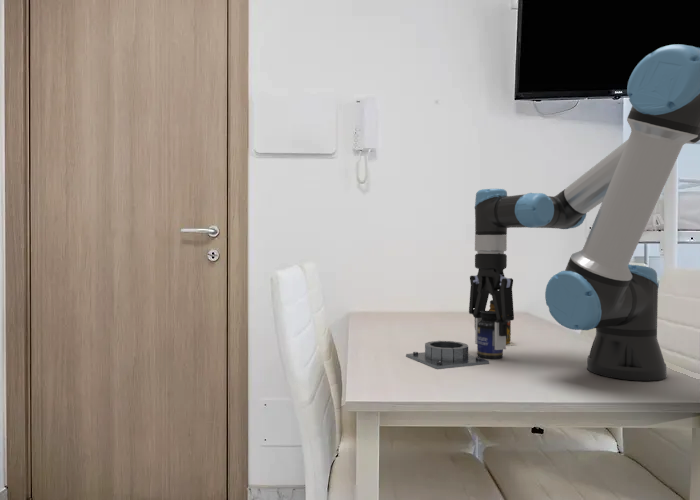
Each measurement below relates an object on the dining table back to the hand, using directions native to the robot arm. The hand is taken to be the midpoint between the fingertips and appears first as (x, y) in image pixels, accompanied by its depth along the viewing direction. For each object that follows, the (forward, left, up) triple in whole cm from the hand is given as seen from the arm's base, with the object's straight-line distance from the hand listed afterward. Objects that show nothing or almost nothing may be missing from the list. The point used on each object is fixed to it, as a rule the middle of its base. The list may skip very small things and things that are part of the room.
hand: (490, 346), depth 128 cm
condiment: (+14, -13, -3) cm, 19 cm away
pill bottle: (0, 0, -3) cm, 3 cm away
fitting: (+1, +12, -3) cm, 12 cm away
